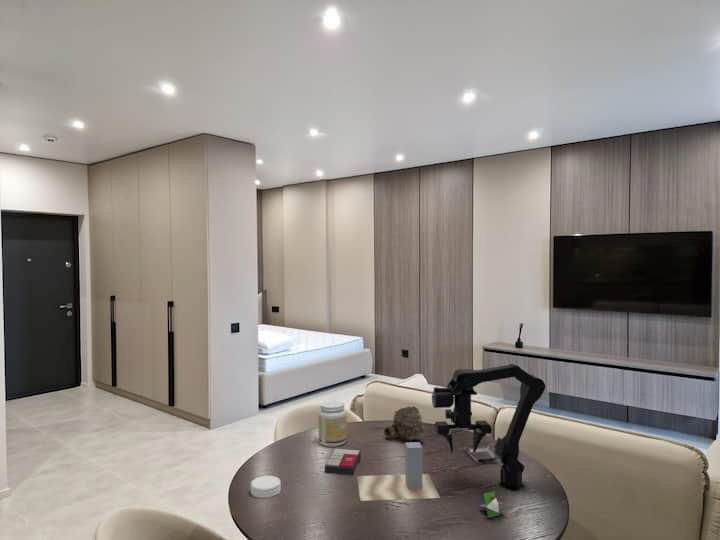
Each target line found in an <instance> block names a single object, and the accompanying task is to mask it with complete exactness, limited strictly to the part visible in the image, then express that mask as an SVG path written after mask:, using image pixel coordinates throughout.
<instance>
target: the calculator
mask: <svg viewBox="0 0 720 540" xmlns="http://www.w3.org/2000/svg"><path fill="white" fill-rule="evenodd" d="M361 460H362V457H361V450H356V449H345V448H344V449H343V448H342V449H341V448H334V449H333V450H332V452H331V454H330V456H329V458H328V460H327V462H326V464H325V465H324V473H325V472H326V473H325V474H331V473H336V474H335V475H346V476H347V475H348V476H354V475H355V473H354V472H355V471H356V468H357V467H358V464H360V462H361Z"/></svg>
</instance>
